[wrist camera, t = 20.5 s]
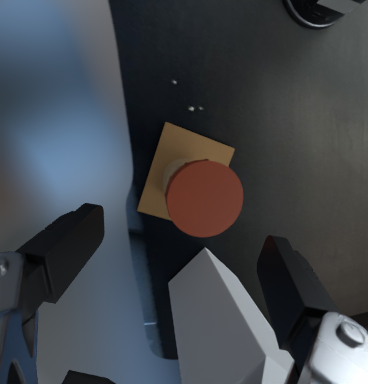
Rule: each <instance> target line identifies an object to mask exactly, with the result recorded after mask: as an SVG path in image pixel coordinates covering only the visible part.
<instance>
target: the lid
mask: <svg viewBox="0 0 368 384" xmlns="http://www.w3.org/2000/svg"><path fill="white" fill-rule="evenodd" d="M170 177H171V178H170V179H169V181H168V184H167V187H166V192H165V194H164V196H165V201H166V206H167V209H168V214H169V217H171V219H172V221H173V223H174V224H175V225H176V226H177V227H178V228H179V229H180V230H182V231H183V232H185V233H187V234H189V235H192V236H196V237H210V236H214V235H217V234H219V233H221V232H223V231H225V230H226V229H227V228H229V227H230V226H231V225H232V224H233V223H234V221H235V220H236V218H237V217H238V215H239V213H240V211H241V208H242V203H243V190H242V186H241V183H240V181H239V178H238V177H237V175H236V174H235V173H234V172H233V171H232V170H231V169H230V168H229V167H228V166H226V165H224V164H222V163H219V162H216V161H210V160H209V159H204V160H194V161H191V162H188V163H187V162H185V164H184V165H182V166H181V167H180V168H178V169H177V170H176V171H175V172H174V173H173V175H172V176H170Z"/></svg>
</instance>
